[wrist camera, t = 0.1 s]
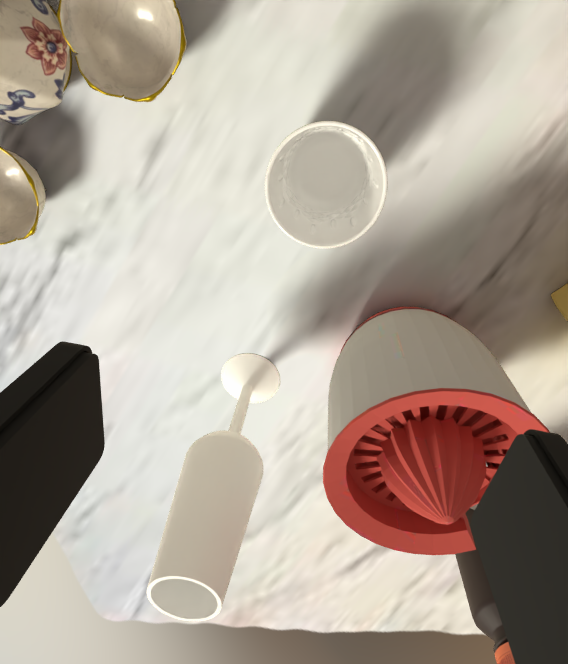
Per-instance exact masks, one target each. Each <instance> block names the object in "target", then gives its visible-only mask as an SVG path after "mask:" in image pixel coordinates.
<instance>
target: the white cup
mask: <svg viewBox="0 0 568 664" xmlns="http://www.w3.org/2000/svg"><path fill="white" fill-rule="evenodd" d="M387 184H388V181H387V171H386V167H385V163H384V160H383V158H382V155H381V153H380V151H379V150H378V148H377V147H376V145H375V144H374V143H373V141H372V140H371V139H370V138H369V137H368V136H367V135H366V134H364V133H363V132H362V131H360V130H359V129H357V128H355V127H353V126H351V125H348V124H346V123H342V122H337V121H319V122H314V123H310V124H307V125H305V126H303V127H301V128H299V129H297V130H295V131H294V132H292V133H291V134H290V135H289V136H287V137H286V138H285V139H284V140H283V141H282V142H281V144H280V145H279V146H278V147H277V149H276V150H275V152H274V154H273V156H272V158H271V160H270V162H269V165H268V168H267V172H266V178H265V195H266V201H267V205H268V208H269V211H270V213H271V215H272V217H273V219H274V220H275V222H276V223H277V225H278V226H279V227H280V229H281V230H282V231H283V232H284V233H285V234H287V235H288V236H289V237H290V238H292V239H293V240H295V241H297V242H299V243H301V244H304V245H306V246H310V247H314V248H334V247H339V246H343V245H345V244H348V243H350V242H352V241H354V240H356V239H357V238H359V237H360V236H362V235H363V234H364V233H365V232H366V231H367V230H368V229H369V228H370V227H371V226H372V225H373V224H374V222H375V221H376V219H377V218H378V216H379V214H380V212H381V210H382V208H383V205H384V202H385V199H386V194H387Z"/></svg>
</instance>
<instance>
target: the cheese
mask: <svg viewBox="0 0 568 664" xmlns="http://www.w3.org/2000/svg"><path fill="white" fill-rule="evenodd" d="M551 297H552V299H553V301H554V303H555V305H556V307H557V308H558V310H559V311H560V313H561V314H562V315H563V317H564V318H565V319H566V320H567V321H568V283H567V284H566V285H564V286H563V287H561V288H560V289H558V290H557V291H555V292H554V293H552V294H551Z"/></svg>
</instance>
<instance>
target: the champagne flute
mask: <svg viewBox="0 0 568 664" xmlns="http://www.w3.org/2000/svg"><path fill="white" fill-rule="evenodd" d="M221 379H222V383H223V385H224V387H225V389H226V390H227V391H228V392H229V393H230V394H231V395H232V396H233V397H235V398H236V399H238V402H237V405H236V409H235V412H234V415H233V418H232V421H231V424H230V427H229V430H228V431H216V432H212V433H209V434H207V435H204V436H203V437H201V438H199V439H198V440H196V441H195V442H194V443H193V444H192V445H191V447H190V448H189V449H188V451H187V453H186V456H185V460H184V463H183V467H182V470H181V473H180V477H179V480H178V484H177V487H176V491H175V494H174V498H173V501H172V505H171V508H170V511H169V515H168V518H167V522H166V525H165V529H164V532H163V536H162V539H161V543H160V546H159V550H158V553H157V556H156V560H155V563H154V567H153V570H152V574H151V577H150V581H149V584H148V588H147V597H148V599H149V601H150V602H151V604H152V605H153V606H154V607H155V608H156V609H158V610H159V611H161V612H162V613H164V614H166V615H168V616H170V617H173V618H176V619H180V620H185V621H204V620H208V619H211V618H213V617H215V616H216V615H217V614H218V613H219V612H220V610H221V607H222V604H223V601H224V598H225V594H226V591H227V588H228V585H229V582H230V579H231V575H232V572H233V569H234V566H235V563H236V559H237V556H238V553H239V550H240V547H241V543H242V540H243V537H244V534H245V531H246V527H247V524H248V521H249V518H250V515H251V512H252V508H253V505H254V502H255V499H256V496H257V492H258V489H259V486H260V483H261V480H262V476H263V462H262V459H261V457H260V455H259V452H258V450H257V449H256V448H255V446H254V445H253V444H252V443H251V441H249V440H248V439H247V438H246V437H244V436H243V435H241V430H242V427H243V423H244V420H245V416H246V412H247V409H248V405H249V403H259V402H264V401H266V400H268V399H270V398H271V397H273V396H274V395H275V394H276V392H277V391H278V389H279V386H280V376H279V373H278V370H277V369H276V367H275V366H274V365H273V364H272V363H271V362H270V361H269V360H267V359H266V358H264V357H262V356H259V355H256V354H249V353H247V354H239V355H236V356H234V357H232V358H231V359H229V360H228V361H227V362H226V363H225V364H224V366H223V368H222V372H221Z"/></svg>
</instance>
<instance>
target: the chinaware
mask: <svg viewBox="0 0 568 664" xmlns="http://www.w3.org/2000/svg"><path fill="white" fill-rule="evenodd" d="M71 50H72V51H73V52H74V53H77V55H76V56H75V58H76V61H77V65H78V68H79V71H80V73H81V74H82V76H83V77H84V78H85V80H86V82H87V83H88V85H89V86H90V87H91V88H92V89H94V90H96V91H99V92H101V93H103V94H106V95H109V96H115V97H123V96H124V98H125V99H128V100H132V101H136V102H143V101H144V102H151V101H153V100H154V99H156V97H157V96H158V95H159V94H160V93H161V92H162V91H163V90H164V88H165V87H166V85H167V84H168V83H169V81H170V80H171V77H172V75H174V73H175V71H176V70H177V68H178V66H179V64H180V62H181V59H182V56H183V53H184V52H185V50H186V37H185V33H184V27H183V23H182V20H181V17H180V14H179V11H178V8H176V2H175V0H60V2H59V7H58V10H57V14H56V12H55V11H54V10H53V8H52V7H51V6H50V5H49V4H48V2H47V0H0V118H2V119H3V120H5V121H7V122H9V123H11V124H15V125H21V124H23V123H25V122H27V121H28V120H30V119H31V118H33V117H34V116H36V115H38V114H39V113H41V112H43V111H45V110H47V109H50V108H53V107H55V106H57V105H59V104H60V103H61V101H62V98H63V92H64V91H65V89H66V87H67V85H68V82H69V79H70V75H71V69H72V55H71ZM45 191H46V188H44V186H43V183H42V181H41V179H40V177H39V175H38V174H37V170H36V169H34V168H33V167H32V166H31V165H30V164H29V163H28V162H27V161H26V160H24V159H23V158H21V157H20V156H18V155H17V154H15V153H13V152H11V151H8V150H5V149H3V148H2V147H1V146H0V245H2V244H7V243H10V242H13V241H16V239H17V240H21V239H26V238H28V237H29V236H31V235H33V234H34V233H35V232H36V230H37V224H38V218H39V217H40V216H41V214H42V212H43V209H44V206H45V199H46V198H45V197H46V196H45Z"/></svg>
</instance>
